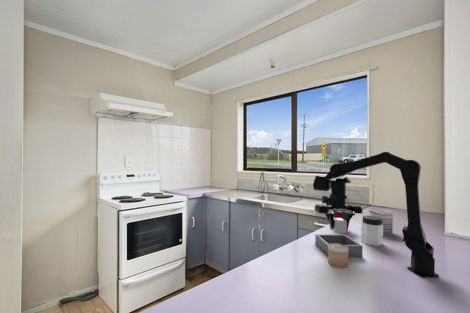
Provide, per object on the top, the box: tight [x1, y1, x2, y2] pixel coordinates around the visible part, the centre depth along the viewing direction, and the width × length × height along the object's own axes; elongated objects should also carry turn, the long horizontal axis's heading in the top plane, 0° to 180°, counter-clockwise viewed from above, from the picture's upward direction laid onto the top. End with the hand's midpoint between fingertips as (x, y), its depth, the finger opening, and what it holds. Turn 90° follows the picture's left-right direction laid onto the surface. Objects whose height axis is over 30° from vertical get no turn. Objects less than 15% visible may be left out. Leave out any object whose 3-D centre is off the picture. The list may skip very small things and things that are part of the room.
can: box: [368, 207, 395, 237], centre depth 129 cm, size 11×11×12 cm
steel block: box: [329, 218, 348, 234], centre depth 103 cm, size 5×5×5 cm
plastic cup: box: [332, 211, 350, 231], centre depth 131 cm, size 11×11×12 cm
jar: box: [360, 215, 384, 247], centre depth 112 cm, size 9×8×12 cm
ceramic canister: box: [327, 243, 349, 269], centre depth 89 cm, size 7×7×7 cm
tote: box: [314, 233, 364, 258], centre depth 103 cm, size 14×14×4 cm
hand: (337, 228), depth 103 cm, fingers closed on steel block, 5 cm apart
